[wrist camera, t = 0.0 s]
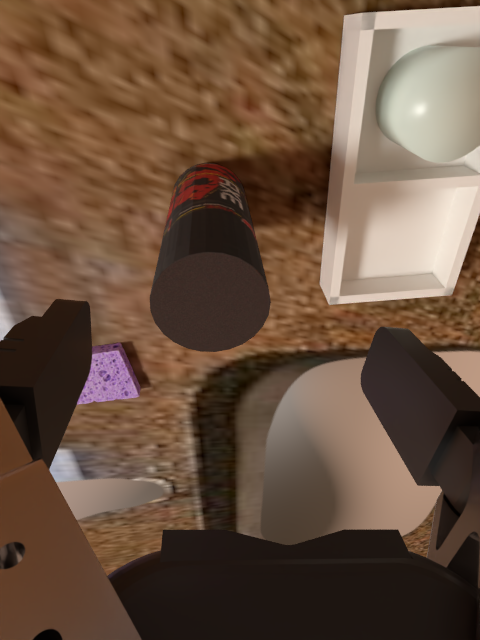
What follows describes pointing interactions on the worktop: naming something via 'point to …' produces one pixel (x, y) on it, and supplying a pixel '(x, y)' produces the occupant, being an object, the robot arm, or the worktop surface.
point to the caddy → (403, 155)
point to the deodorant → (209, 264)
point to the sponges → (109, 376)
